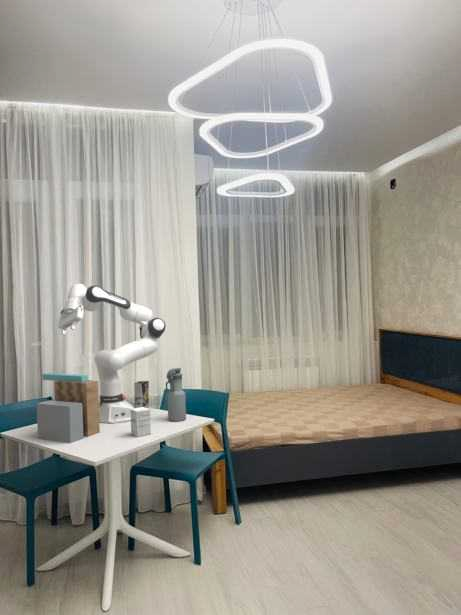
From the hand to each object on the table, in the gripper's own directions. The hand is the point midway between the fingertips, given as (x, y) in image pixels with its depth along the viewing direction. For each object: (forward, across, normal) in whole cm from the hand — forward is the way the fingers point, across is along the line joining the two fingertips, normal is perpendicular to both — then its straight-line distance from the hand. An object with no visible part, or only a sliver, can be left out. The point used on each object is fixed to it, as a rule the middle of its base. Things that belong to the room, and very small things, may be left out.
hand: (67, 331), depth 250 cm
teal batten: (+28, -3, -3) cm, 29 cm away
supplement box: (+54, -33, -33) cm, 72 cm away
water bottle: (+39, -27, -60) cm, 77 cm away
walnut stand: (+52, -3, -16) cm, 54 cm away
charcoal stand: (+57, -5, -7) cm, 58 cm away
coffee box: (+23, +13, -65) cm, 70 cm away
